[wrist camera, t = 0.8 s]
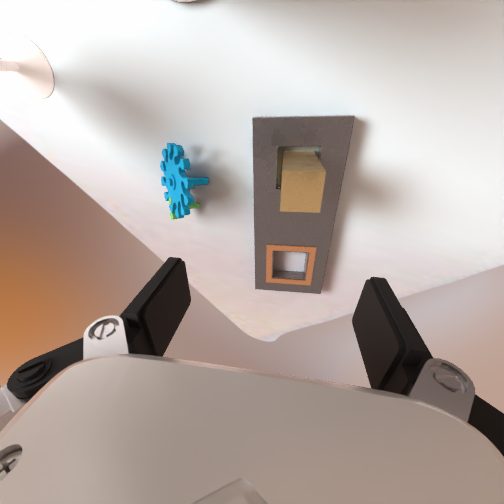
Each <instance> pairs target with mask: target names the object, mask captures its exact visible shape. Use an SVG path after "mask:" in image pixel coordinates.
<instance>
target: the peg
mask: <svg viewBox="0 0 504 504" xmlns="http://www.w3.org/2000/svg"><path fill="white" fill-rule="evenodd" d="M325 176H326V171H325V169H324V167H323V166H322V164H321V162H320V160H319V159H318V157H317V155H316V154H315V152H314V150H284V154H283V166H282V181H281V202H280V211H281V212H312V213H320V209H321V202H322V195H323V189H324V182H325Z"/></svg>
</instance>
